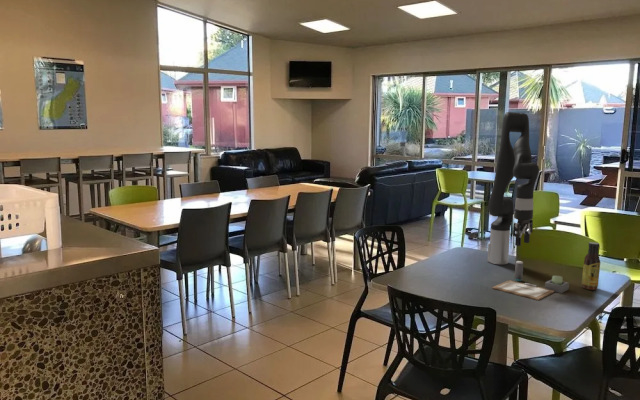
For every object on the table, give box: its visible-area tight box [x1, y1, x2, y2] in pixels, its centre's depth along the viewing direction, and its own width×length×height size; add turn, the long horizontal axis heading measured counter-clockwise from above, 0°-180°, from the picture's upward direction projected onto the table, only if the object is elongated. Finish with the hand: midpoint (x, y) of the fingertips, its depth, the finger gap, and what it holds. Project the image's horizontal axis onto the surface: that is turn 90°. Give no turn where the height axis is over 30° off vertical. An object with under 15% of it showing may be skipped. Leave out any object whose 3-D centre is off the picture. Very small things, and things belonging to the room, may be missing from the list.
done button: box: [551, 275, 564, 285], centre depth 219 cm, size 4×4×4 cm
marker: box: [514, 260, 524, 282], centre depth 232 cm, size 3×3×9 cm
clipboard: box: [491, 279, 555, 301], centre depth 218 cm, size 20×15×1 cm
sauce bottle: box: [581, 241, 601, 291], centre depth 220 cm, size 6×6×20 cm
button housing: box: [544, 278, 570, 294], centre depth 220 cm, size 7×7×3 cm
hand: (522, 244), depth 230 cm, fingers open, 8 cm apart
